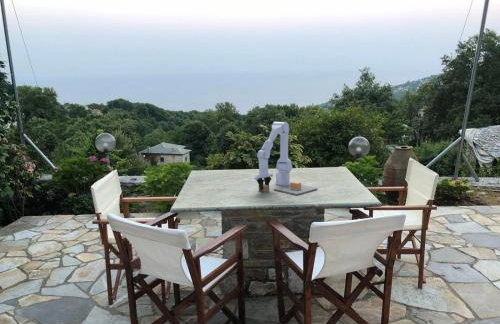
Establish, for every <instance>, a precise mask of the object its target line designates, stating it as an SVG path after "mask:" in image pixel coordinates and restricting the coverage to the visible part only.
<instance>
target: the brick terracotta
mask: <svg viewBox="0 0 500 324" xmlns="http://www.w3.org/2000/svg"><path fill="white" fill-rule="evenodd" d="M301 185H302V182H299V181H295V180H294V181H290V188H291V189H296V190H298V189H301Z"/></svg>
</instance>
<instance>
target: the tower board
mask: <svg viewBox="0 0 500 324" xmlns="http://www.w3.org/2000/svg"><path fill="white" fill-rule="evenodd" d="M273 190H274V191H275V192H276V191H277V192H280V193H284V194H288V195H292V196H300V195H304V194H308V193H310V192H314V191H315V192H316V191H317V190H318V187H312V186H307V185H303V184H301V189H298V190H296V189H291V188H290V185H287V186H279V187H275V188H273Z"/></svg>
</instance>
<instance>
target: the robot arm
mask: <svg viewBox="0 0 500 324" xmlns="http://www.w3.org/2000/svg"><path fill="white" fill-rule="evenodd" d="M289 134H290V125H289V123H288V122H287V121H273V123H272V125H271V132H270V134H269V137H268V139H266V140H265V141H264V143H263V145H262V146H261V149H260V150H258V152H257V154H256V158H257V160H258V171H259V174H258V175H255V176H254V178H253V179H254V180H256V182H257V184H258V188H259V187H260V189H261V190H263V184H266V185H269V186H270V182H271V181H272V177H273V176H274V173H271V172H270V173H269V159H270V157H271V151H272V148H273V146H274V141H275V140H276V138H277V136H278V135H280V136H279V137H280V140H279V141H280V144H279V146H280V147H279V151H280V152H279V153H280V155H279V158H278V159H277V161H276V167H275V168H276V170H277V172H276V174H275V183H274V184H275V185H278V186H281V187H283V186H287V185H290V182H291V178H290V177H291V176H290V175H291V174H290V173H291V172H292V171H293V164H292V160H291V159H290V158H289Z"/></svg>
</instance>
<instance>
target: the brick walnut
mask: <svg viewBox="0 0 500 324" xmlns="http://www.w3.org/2000/svg"><path fill="white" fill-rule="evenodd" d="M258 192H262V193H267V192H270V184H269V185H266V184H265V183H263V190H261V189H260V187H259V186H258Z"/></svg>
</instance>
